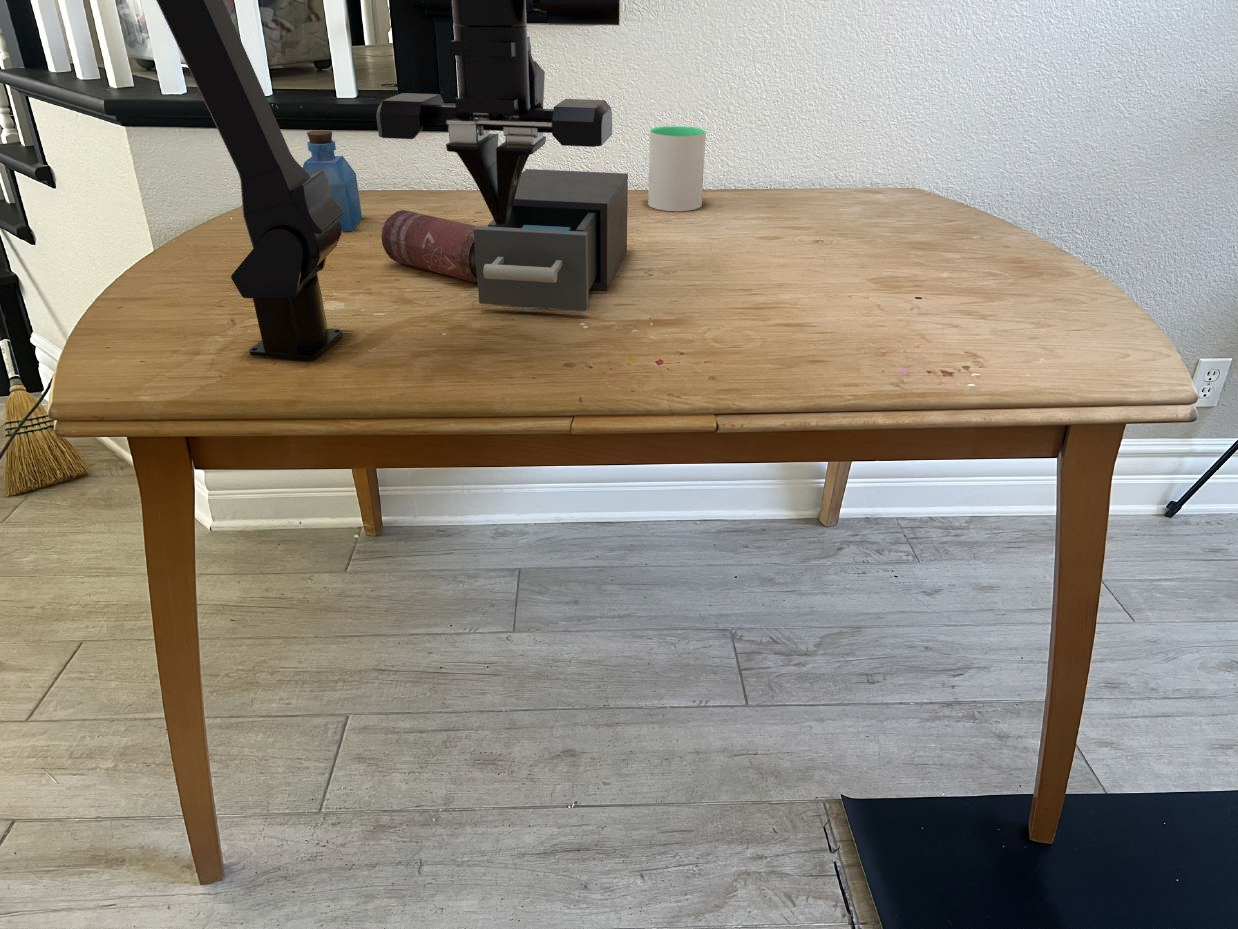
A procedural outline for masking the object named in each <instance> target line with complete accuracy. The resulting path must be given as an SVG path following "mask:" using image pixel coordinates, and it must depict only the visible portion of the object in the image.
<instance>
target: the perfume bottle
mask: <svg viewBox="0 0 1238 929" xmlns="http://www.w3.org/2000/svg"><path fill="white" fill-rule="evenodd" d="M306 135H307V138H308V140H309V141H307V143H306V144H307V150H308V152H310V153H311V154H310V155H311V156H310V157H309V158H308V159H306V160H305V161H304V162H303V164H302V166H301V167H302V168H303V169H304V170H305V171H306V172H307V173H308V174H309V175H310V176H312V175H314V174H316V173H317V172H319V171H324V172H325V174H326V176H327V179H328V182H329V186H330V190H331V193H332V196H333V198H334V200H335V202H336V204H337V205H338V206H339V207H340V208H341V209H342V210H343V212H344V213H343V214H342V215H341V216H340V217H339V221H340V225H341V232H353V231H354V230H355V229H356V228H357V226H358V225H359V223H360V222H362V220H363V213H362V206H361V201H360V192H359V185H358V179H357V173H356V172H355V170H354V168H353V167H352V166H351V164H350V163H349V162H348V161H347V159H346V158H345V156H343V155H335V151H336V150H337V146H336V141H335V140H333V131H332V130H326V129H318V130H317V129H316V130H311V131H307V132H306Z"/></svg>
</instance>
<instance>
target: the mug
mask: <svg viewBox="0 0 1238 929" xmlns="http://www.w3.org/2000/svg"><path fill="white" fill-rule="evenodd" d="M706 135H707V131H706V130H705V129H702V128H699V127H693V126H683V125H682V126H681V125H668V126H667V125H666V126H658V127H657V126H656V127H653V128H651V129H649V146H648V147H649V148H648V149H649V150H648V151H649V153H648V185H647V186H648V188H647V189H648V190H647V193H648V194H647V205H648V206H649V207H650V208H653V209H655V210H658V211H659V210H660V211H667V212H688V211H694V210H699V209H700V208H702V206H703V192H704V190H703V188H704V174H705V173H704V170H705V154H706V137H707V136H706Z"/></svg>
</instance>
